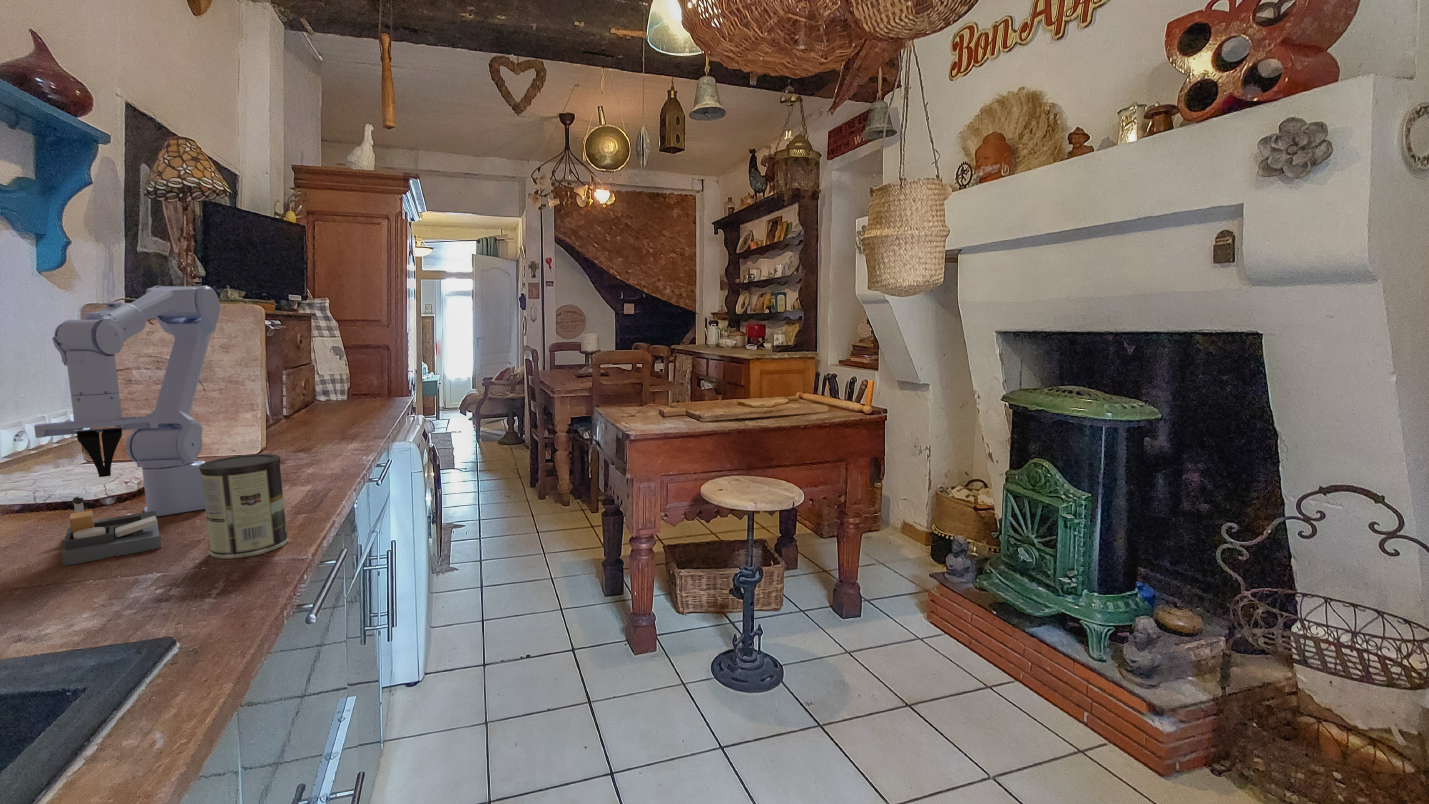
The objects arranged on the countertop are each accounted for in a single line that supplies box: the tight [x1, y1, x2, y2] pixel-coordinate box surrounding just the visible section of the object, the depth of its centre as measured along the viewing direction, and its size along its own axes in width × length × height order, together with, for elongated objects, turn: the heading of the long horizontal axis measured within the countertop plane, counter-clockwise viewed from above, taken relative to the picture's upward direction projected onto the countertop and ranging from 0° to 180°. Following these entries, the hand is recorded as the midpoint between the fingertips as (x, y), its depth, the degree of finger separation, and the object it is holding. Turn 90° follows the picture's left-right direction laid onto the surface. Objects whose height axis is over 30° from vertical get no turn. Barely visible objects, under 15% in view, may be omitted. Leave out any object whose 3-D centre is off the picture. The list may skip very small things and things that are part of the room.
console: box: [61, 511, 162, 567], centre depth 106 cm, size 11×18×3 cm, turn 42°
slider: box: [68, 510, 95, 532], centre depth 104 cm, size 2×4×3 cm, turn 42°
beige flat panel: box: [115, 516, 158, 537], centre depth 104 cm, size 5×3×1 cm, turn 131°
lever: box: [72, 496, 85, 513], centre depth 108 cm, size 1×1×4 cm
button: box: [73, 527, 106, 539], centre depth 100 cm, size 4×4×2 cm
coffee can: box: [199, 453, 289, 560], centre depth 103 cm, size 10×10×14 cm
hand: (105, 475), depth 107 cm, fingers closed
